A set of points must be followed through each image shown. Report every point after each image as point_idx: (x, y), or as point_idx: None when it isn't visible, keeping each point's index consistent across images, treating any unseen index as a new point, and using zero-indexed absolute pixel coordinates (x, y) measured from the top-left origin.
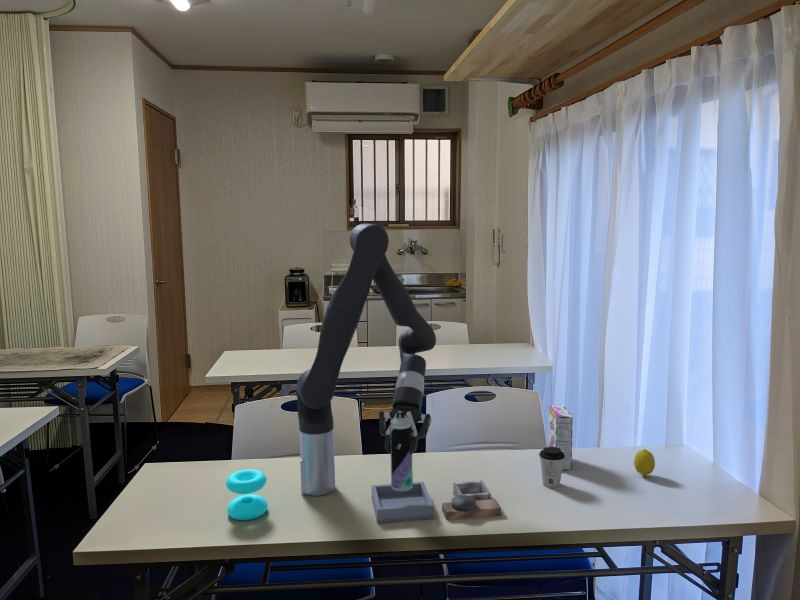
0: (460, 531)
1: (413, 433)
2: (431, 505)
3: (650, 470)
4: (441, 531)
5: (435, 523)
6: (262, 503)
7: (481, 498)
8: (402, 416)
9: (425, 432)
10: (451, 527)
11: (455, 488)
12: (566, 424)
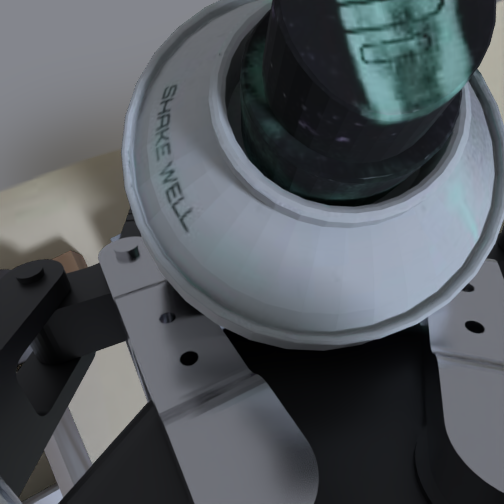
0: (24, 197)
1: (143, 253)
2: (117, 236)
3: None
4: (83, 180)
5: (113, 222)
6: None
7: None
8: (269, 10)
9: (25, 380)
10: (56, 213)
11: (62, 448)
12: None
